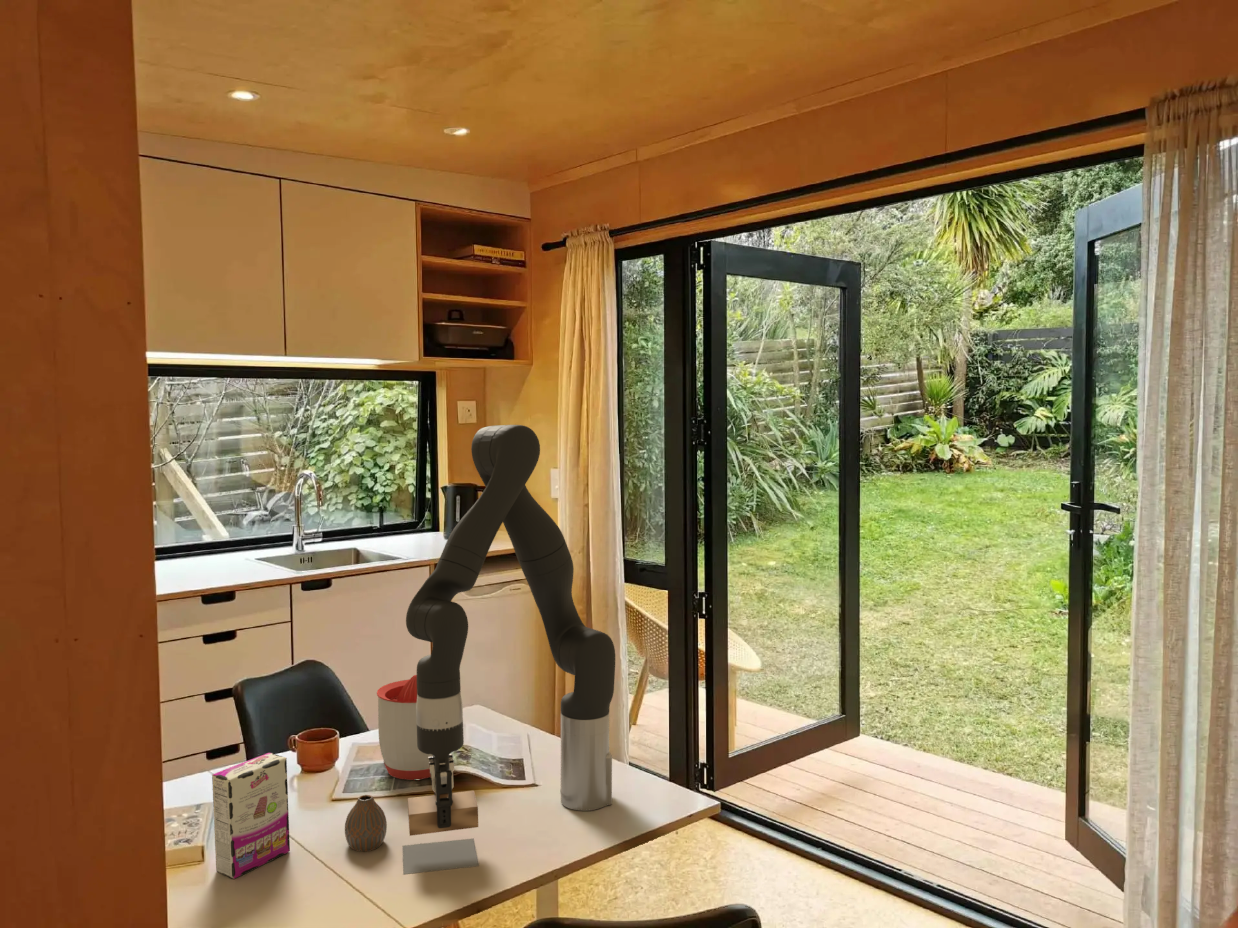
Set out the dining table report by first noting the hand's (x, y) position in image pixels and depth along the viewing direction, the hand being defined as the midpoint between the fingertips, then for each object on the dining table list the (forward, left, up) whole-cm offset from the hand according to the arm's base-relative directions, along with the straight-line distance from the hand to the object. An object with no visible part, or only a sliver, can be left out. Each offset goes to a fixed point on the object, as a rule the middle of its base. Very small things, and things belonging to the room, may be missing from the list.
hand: (442, 817), depth 158 cm
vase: (+13, -7, -7) cm, 16 cm away
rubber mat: (+1, 0, -7) cm, 7 cm away
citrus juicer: (+3, -39, -7) cm, 40 cm away
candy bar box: (+31, -6, -7) cm, 32 cm away
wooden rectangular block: (0, 0, -1) cm, 1 cm away
